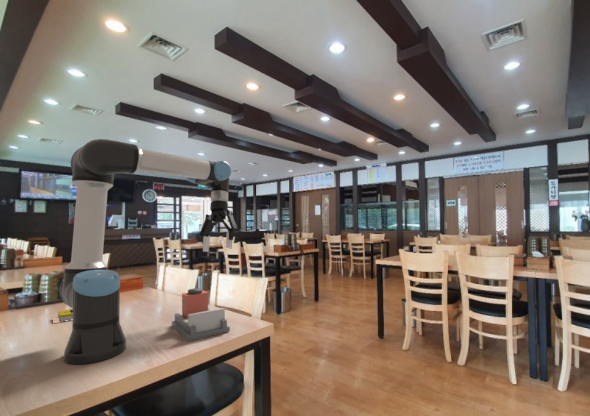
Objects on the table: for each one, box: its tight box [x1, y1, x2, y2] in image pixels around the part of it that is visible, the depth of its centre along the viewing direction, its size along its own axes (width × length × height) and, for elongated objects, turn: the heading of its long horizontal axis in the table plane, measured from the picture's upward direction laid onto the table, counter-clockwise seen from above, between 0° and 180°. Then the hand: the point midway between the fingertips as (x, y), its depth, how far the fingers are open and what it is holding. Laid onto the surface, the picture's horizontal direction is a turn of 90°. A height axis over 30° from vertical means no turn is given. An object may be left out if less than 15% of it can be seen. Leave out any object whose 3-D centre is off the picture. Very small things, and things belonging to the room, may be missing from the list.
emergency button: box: [57, 308, 73, 321], centre depth 128 cm, size 9×4×15 cm
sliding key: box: [181, 287, 209, 319], centre depth 114 cm, size 8×5×11 cm, turn 126°
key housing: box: [171, 307, 231, 342], centre depth 110 cm, size 14×20×8 cm
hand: (217, 250), depth 130 cm, fingers open, 13 cm apart
